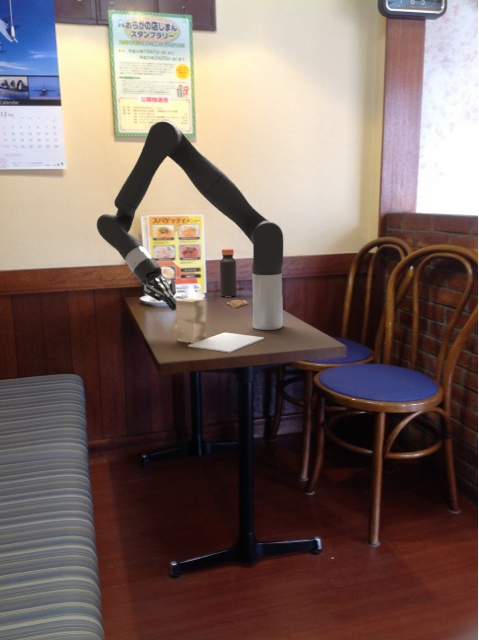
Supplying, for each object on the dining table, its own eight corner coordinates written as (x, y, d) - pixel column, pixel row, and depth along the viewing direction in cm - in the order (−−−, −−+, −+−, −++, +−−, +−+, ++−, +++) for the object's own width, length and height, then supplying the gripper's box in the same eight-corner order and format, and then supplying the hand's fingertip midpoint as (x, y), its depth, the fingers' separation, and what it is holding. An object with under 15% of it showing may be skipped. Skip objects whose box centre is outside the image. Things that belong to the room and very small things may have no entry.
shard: (235, 309, 215) (235, 304, 215) (218, 308, 219) (218, 303, 219) (249, 305, 225) (249, 300, 224) (232, 303, 228) (232, 299, 228)
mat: (224, 333, 174) (224, 332, 174) (264, 338, 166) (264, 337, 166) (188, 346, 159) (188, 345, 159) (229, 352, 151) (229, 351, 151)
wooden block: (189, 336, 171) (188, 297, 168) (206, 338, 168) (205, 298, 165) (177, 340, 166) (175, 300, 164) (193, 343, 163) (192, 301, 160)
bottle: (239, 296, 243) (238, 249, 239) (225, 298, 239) (224, 250, 235) (231, 294, 248) (230, 248, 244) (217, 296, 245) (216, 249, 241)
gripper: (133, 259, 165) (168, 303, 161) (163, 255, 176) (196, 297, 171) (121, 276, 169) (155, 320, 165) (151, 271, 179) (183, 312, 175)
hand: (176, 308), depth 168 cm, fingers closed
